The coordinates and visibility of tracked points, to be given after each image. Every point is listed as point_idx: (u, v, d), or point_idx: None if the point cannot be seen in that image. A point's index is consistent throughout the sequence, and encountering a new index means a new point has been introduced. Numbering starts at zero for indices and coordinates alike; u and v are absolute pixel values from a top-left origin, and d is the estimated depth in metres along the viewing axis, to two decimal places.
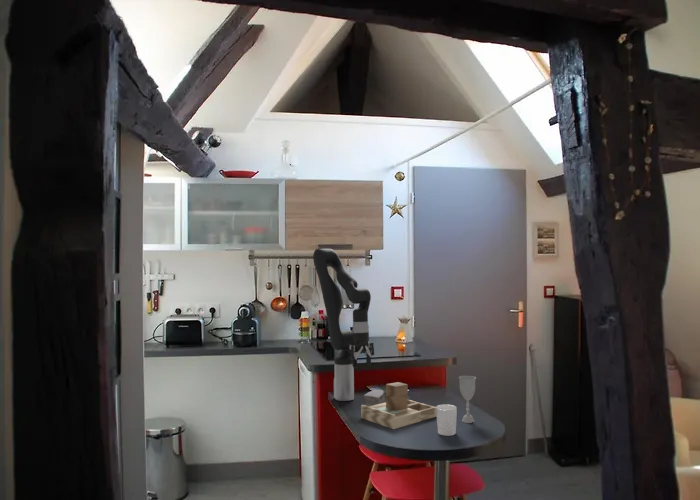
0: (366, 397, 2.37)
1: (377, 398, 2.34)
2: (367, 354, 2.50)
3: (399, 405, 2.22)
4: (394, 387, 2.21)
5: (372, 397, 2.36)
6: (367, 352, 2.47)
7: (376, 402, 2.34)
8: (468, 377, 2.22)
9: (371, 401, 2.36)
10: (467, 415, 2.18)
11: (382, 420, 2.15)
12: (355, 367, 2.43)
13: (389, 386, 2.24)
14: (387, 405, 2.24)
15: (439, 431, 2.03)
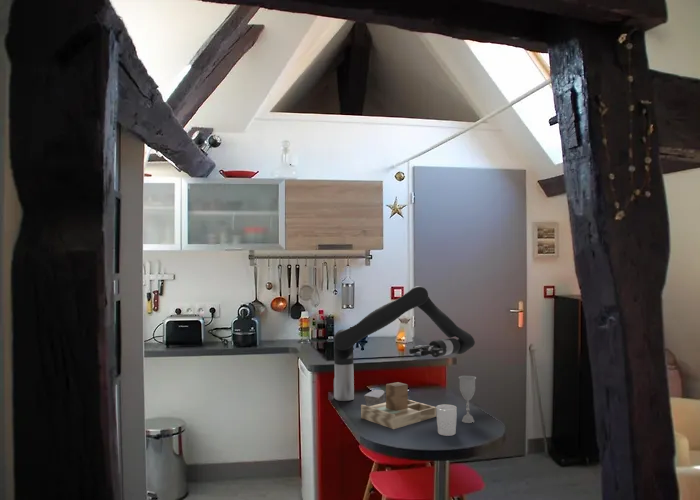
0: (366, 397, 2.37)
1: (377, 398, 2.34)
2: (417, 348, 2.39)
3: (399, 405, 2.22)
4: (394, 387, 2.21)
5: (372, 397, 2.35)
6: None
7: (376, 402, 2.34)
8: (468, 377, 2.22)
9: (371, 401, 2.35)
10: (467, 415, 2.18)
11: (382, 420, 2.15)
12: (422, 355, 2.30)
13: (389, 386, 2.24)
14: (387, 405, 2.24)
15: (439, 431, 2.03)
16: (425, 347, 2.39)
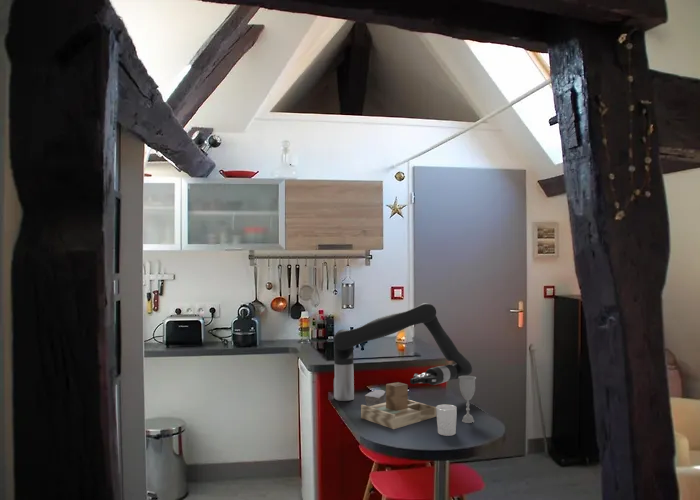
0: (367, 397, 2.37)
1: (377, 398, 2.34)
2: None
3: (399, 405, 2.22)
4: (394, 387, 2.21)
5: (372, 397, 2.35)
6: None
7: (376, 402, 2.34)
8: (468, 377, 2.22)
9: (371, 401, 2.35)
10: (467, 415, 2.18)
11: (382, 420, 2.15)
12: (412, 383, 2.30)
13: (389, 386, 2.24)
14: (387, 405, 2.24)
15: (439, 431, 2.03)
16: None
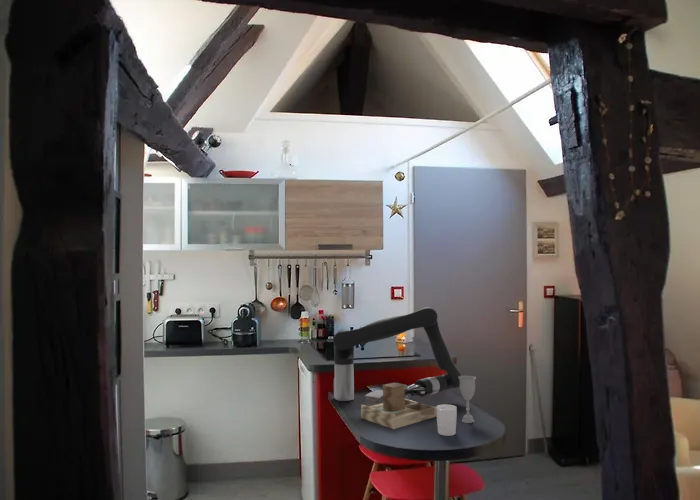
0: (367, 397, 2.37)
1: (377, 399, 2.34)
2: None
3: (396, 406, 2.21)
4: (391, 388, 2.20)
5: (373, 397, 2.35)
6: None
7: (376, 402, 2.34)
8: (468, 377, 2.22)
9: (372, 401, 2.35)
10: (467, 415, 2.18)
11: (382, 420, 2.15)
12: None
13: (386, 387, 2.22)
14: (384, 406, 2.23)
15: (439, 431, 2.03)
16: (413, 387, 2.32)
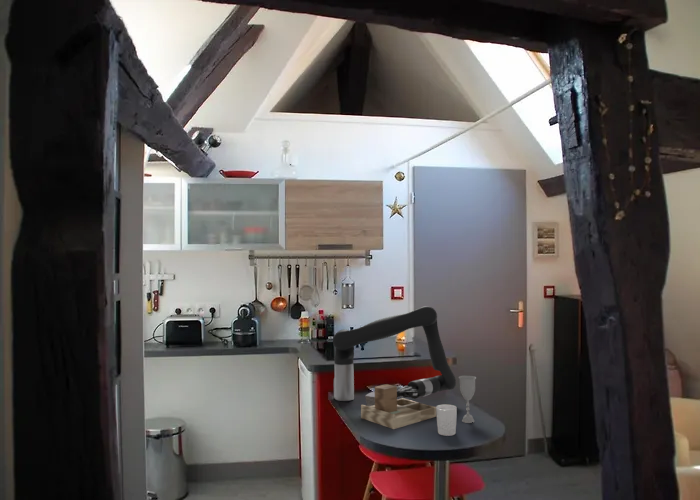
0: (367, 397, 2.36)
1: None
2: None
3: (388, 408, 2.18)
4: (383, 390, 2.17)
5: (373, 397, 2.35)
6: None
7: None
8: (468, 377, 2.22)
9: (372, 401, 2.35)
10: (467, 415, 2.18)
11: (382, 420, 2.15)
12: None
13: (378, 389, 2.19)
14: (376, 408, 2.20)
15: (439, 431, 2.03)
16: (405, 388, 2.29)
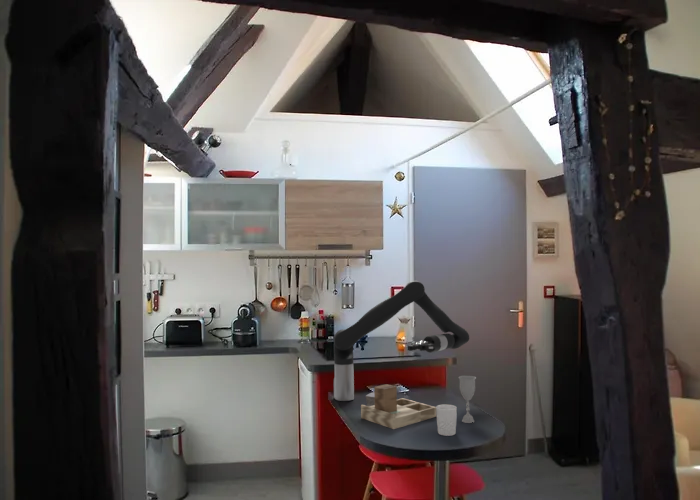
0: (367, 397, 2.36)
1: None
2: None
3: (388, 408, 2.18)
4: (382, 390, 2.17)
5: (373, 398, 2.35)
6: None
7: None
8: (468, 377, 2.22)
9: (372, 402, 2.35)
10: (467, 415, 2.18)
11: (382, 420, 2.15)
12: (410, 349, 2.34)
13: (377, 389, 2.19)
14: (376, 408, 2.20)
15: (439, 431, 2.03)
16: None
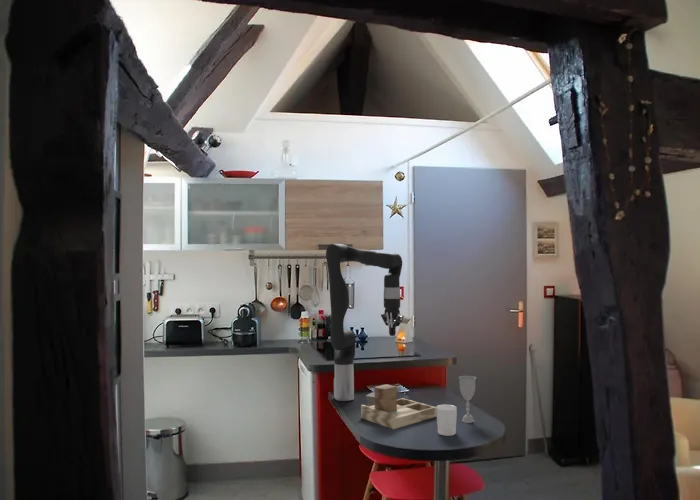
0: (367, 397, 2.36)
1: None
2: None
3: (388, 408, 2.18)
4: (382, 390, 2.17)
5: (373, 398, 2.35)
6: None
7: None
8: (468, 377, 2.22)
9: (372, 402, 2.35)
10: (467, 415, 2.18)
11: (382, 420, 2.15)
12: (394, 335, 2.39)
13: (377, 389, 2.19)
14: (376, 408, 2.20)
15: (439, 431, 2.03)
16: (389, 316, 2.39)
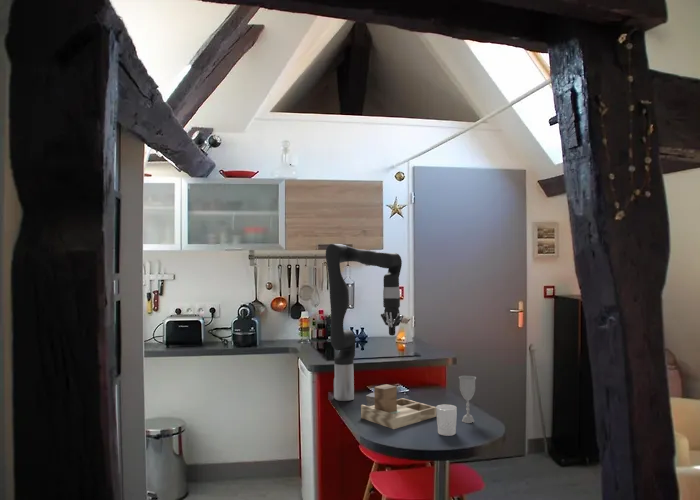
0: (367, 397, 2.36)
1: None
2: None
3: (388, 408, 2.18)
4: (382, 390, 2.17)
5: (373, 398, 2.35)
6: None
7: None
8: (468, 377, 2.22)
9: (372, 402, 2.35)
10: (467, 415, 2.18)
11: (382, 420, 2.15)
12: (394, 334, 2.39)
13: (377, 389, 2.19)
14: (376, 408, 2.20)
15: (439, 431, 2.03)
16: (389, 316, 2.39)
